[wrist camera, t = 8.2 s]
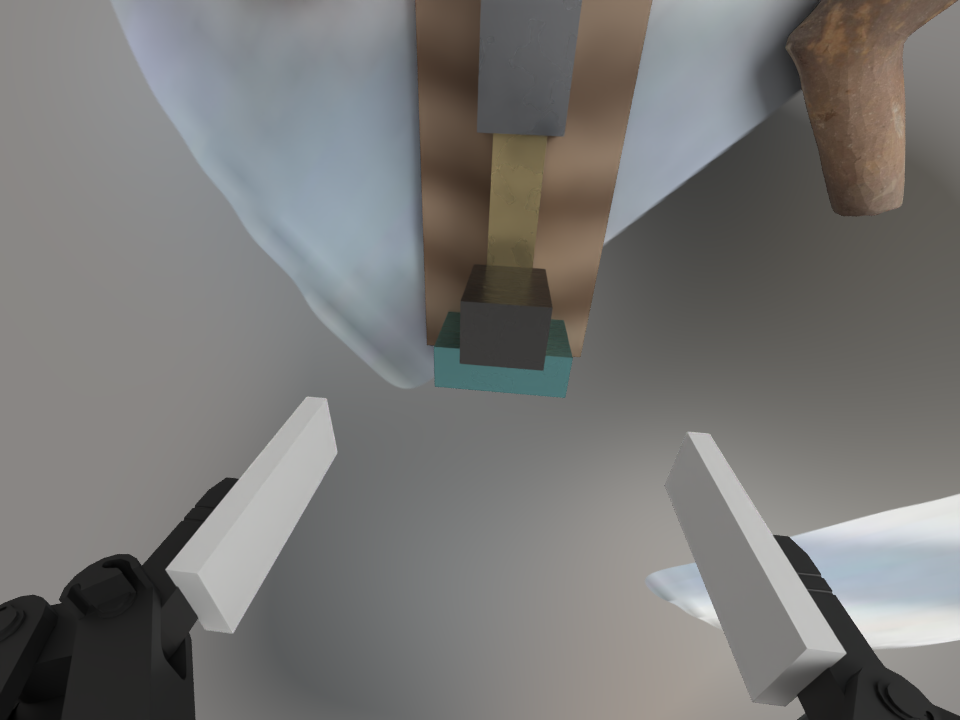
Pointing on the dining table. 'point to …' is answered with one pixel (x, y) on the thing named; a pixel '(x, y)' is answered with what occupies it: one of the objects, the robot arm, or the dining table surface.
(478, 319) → the square head mallet
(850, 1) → the pipe
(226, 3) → the dining table surface
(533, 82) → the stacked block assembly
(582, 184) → the base board
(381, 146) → the dining table surface
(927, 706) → the robot arm
